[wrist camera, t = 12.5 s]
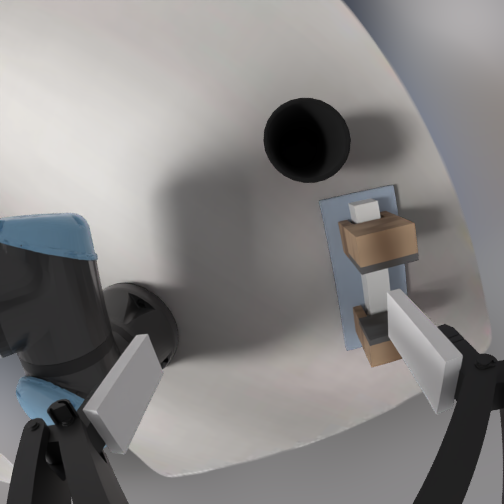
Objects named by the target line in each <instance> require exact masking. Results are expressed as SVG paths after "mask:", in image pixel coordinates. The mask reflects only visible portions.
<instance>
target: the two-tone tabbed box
mask: <svg viewBox="0 0 504 504" xmlns="http://www.w3.org/2000/svg"><path fill="white" fill-rule="evenodd" d="M353 314H354V322H355V330H356V333H357V335H358V338H359V340H360V342H361V344H362V347H363V349H364V351H365V353H366V356H367V358H368V360H369V363H370V365H371V367H375V366H379V365H382V364H386V363H389V362H393V361H396V360H399V359H402V357H401V355H400V354H399V352H398V351H397V349H396V347H395V346H394V344H393V343H392V341H391V340H390V338H389V336H388V311H385V312H381V313H378V314H374V315H370V316H367V315H366V313H365V311H364V310H363V308H362V306H361V305H359V306H355V307H353Z"/></svg>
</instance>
